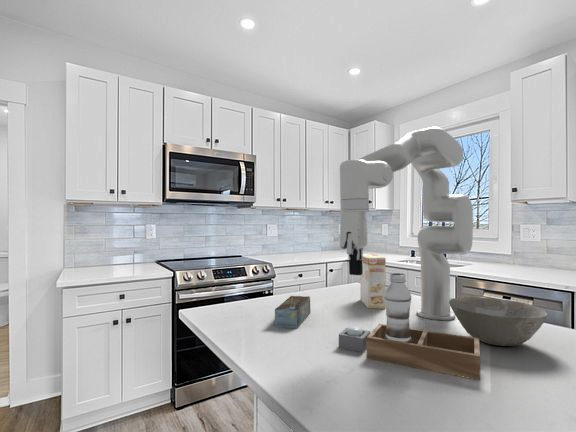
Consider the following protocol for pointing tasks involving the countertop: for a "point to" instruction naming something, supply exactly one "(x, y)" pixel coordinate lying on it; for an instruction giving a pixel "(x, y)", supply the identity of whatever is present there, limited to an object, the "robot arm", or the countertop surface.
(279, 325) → the brown-grey rectangular block
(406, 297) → the plastic bottle
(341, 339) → the button housing
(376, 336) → the walnut bottle rack
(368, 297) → the coffeecake box
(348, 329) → the white domed push button
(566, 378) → the countertop surface
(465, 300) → the ceramic bowl
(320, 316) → the countertop surface
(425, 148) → the robot arm
